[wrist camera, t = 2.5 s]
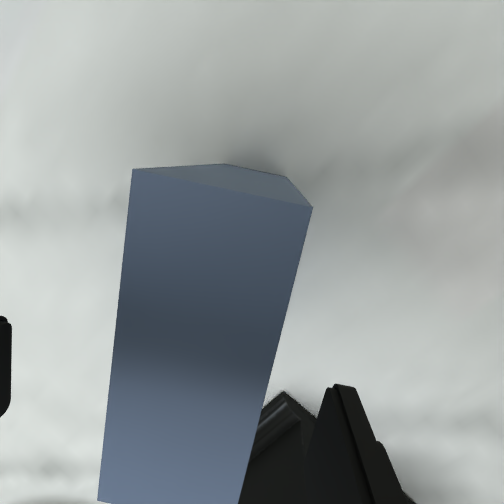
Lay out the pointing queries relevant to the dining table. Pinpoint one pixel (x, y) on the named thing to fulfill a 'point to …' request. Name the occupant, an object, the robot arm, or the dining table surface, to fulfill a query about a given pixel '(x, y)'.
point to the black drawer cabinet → (279, 455)
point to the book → (197, 329)
